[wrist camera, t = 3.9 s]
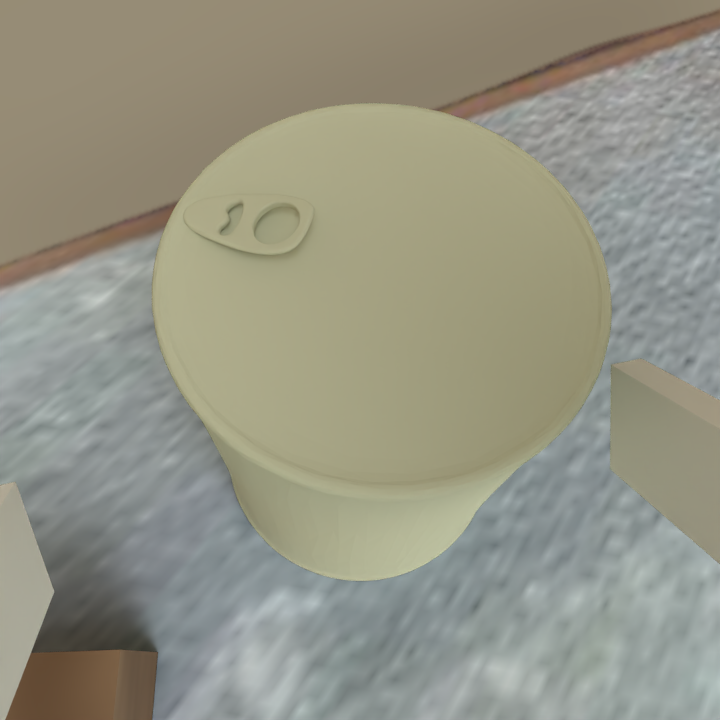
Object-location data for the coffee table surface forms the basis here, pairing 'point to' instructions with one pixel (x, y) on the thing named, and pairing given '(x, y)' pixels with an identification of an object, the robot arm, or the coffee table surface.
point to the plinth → (86, 686)
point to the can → (378, 326)
